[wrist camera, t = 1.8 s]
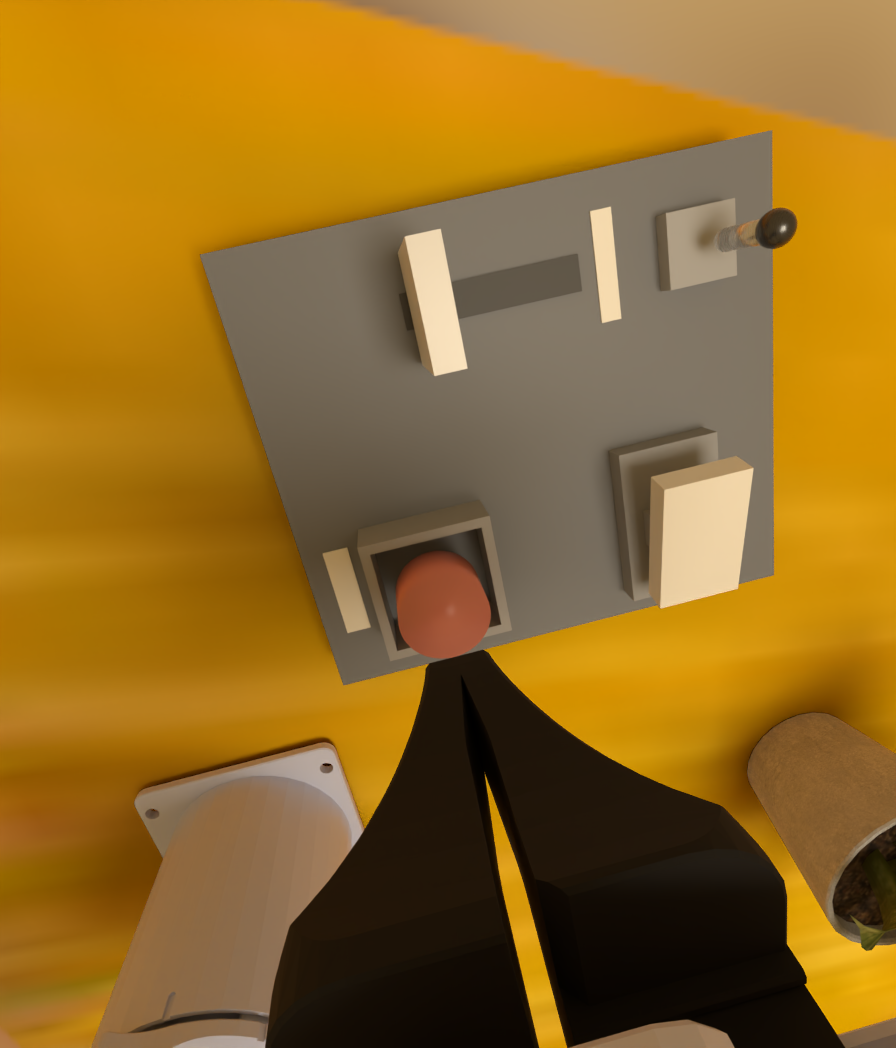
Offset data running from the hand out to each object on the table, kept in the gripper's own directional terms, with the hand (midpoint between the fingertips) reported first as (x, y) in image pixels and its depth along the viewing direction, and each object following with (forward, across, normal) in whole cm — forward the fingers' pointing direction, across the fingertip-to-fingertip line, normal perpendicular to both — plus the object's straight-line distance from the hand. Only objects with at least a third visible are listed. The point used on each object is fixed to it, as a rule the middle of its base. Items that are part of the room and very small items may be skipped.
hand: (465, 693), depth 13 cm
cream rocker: (+5, -8, 0) cm, 9 cm away
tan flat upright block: (+7, -2, -8) cm, 10 cm away
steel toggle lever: (+6, -10, -8) cm, 14 cm away
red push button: (+5, 0, 0) cm, 5 cm away
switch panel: (+9, -4, -3) cm, 10 cm away
